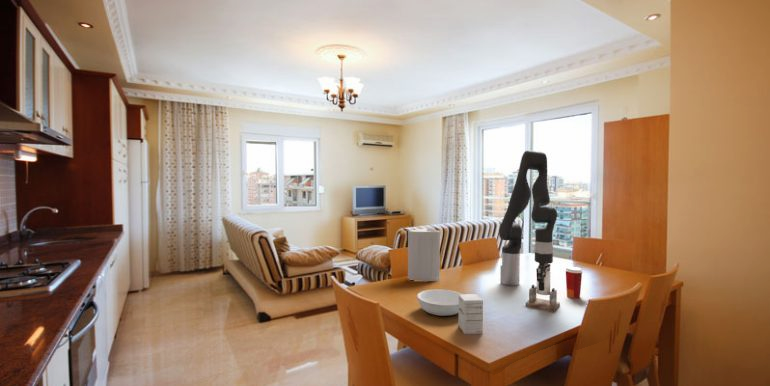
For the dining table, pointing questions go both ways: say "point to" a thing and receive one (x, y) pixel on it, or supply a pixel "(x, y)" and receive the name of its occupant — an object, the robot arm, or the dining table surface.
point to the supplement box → (470, 314)
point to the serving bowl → (439, 302)
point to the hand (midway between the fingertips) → (543, 288)
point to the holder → (542, 303)
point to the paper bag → (424, 254)
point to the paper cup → (573, 282)
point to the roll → (545, 285)
